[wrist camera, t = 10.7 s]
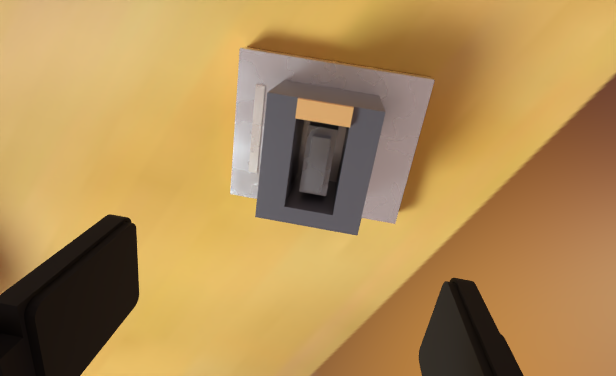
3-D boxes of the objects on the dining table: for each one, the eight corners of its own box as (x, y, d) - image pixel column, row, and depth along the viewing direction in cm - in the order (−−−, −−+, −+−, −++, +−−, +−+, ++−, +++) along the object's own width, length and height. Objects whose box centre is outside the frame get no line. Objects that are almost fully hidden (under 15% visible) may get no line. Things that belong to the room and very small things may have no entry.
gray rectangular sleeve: (356, 199, 26) (357, 238, 21) (272, 184, 26) (254, 219, 21) (379, 95, 23) (386, 113, 18) (284, 79, 23) (266, 93, 18)
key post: (392, 214, 28) (403, 260, 22) (236, 185, 28) (207, 224, 23) (430, 76, 24) (453, 91, 18) (246, 47, 24) (214, 52, 19)
